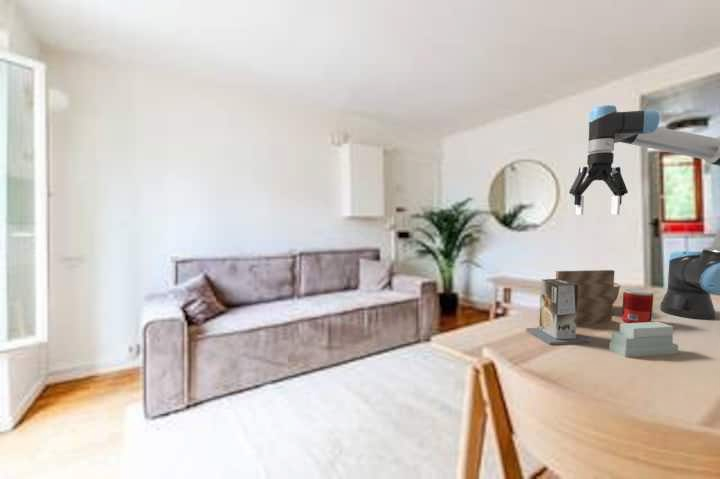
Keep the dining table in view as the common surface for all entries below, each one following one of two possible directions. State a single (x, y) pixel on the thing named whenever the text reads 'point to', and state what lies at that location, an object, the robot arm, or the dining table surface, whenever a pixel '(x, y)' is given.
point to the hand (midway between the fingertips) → (597, 214)
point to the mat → (553, 341)
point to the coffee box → (558, 308)
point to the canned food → (637, 306)
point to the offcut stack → (643, 339)
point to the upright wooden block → (592, 294)
